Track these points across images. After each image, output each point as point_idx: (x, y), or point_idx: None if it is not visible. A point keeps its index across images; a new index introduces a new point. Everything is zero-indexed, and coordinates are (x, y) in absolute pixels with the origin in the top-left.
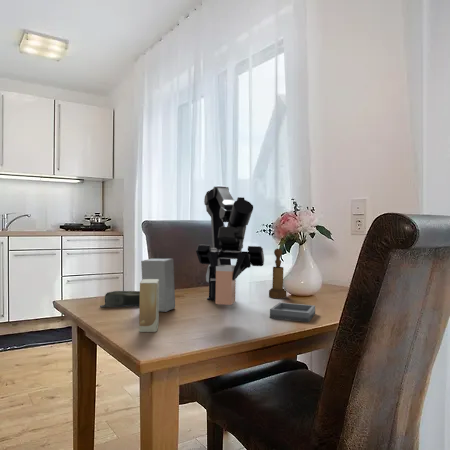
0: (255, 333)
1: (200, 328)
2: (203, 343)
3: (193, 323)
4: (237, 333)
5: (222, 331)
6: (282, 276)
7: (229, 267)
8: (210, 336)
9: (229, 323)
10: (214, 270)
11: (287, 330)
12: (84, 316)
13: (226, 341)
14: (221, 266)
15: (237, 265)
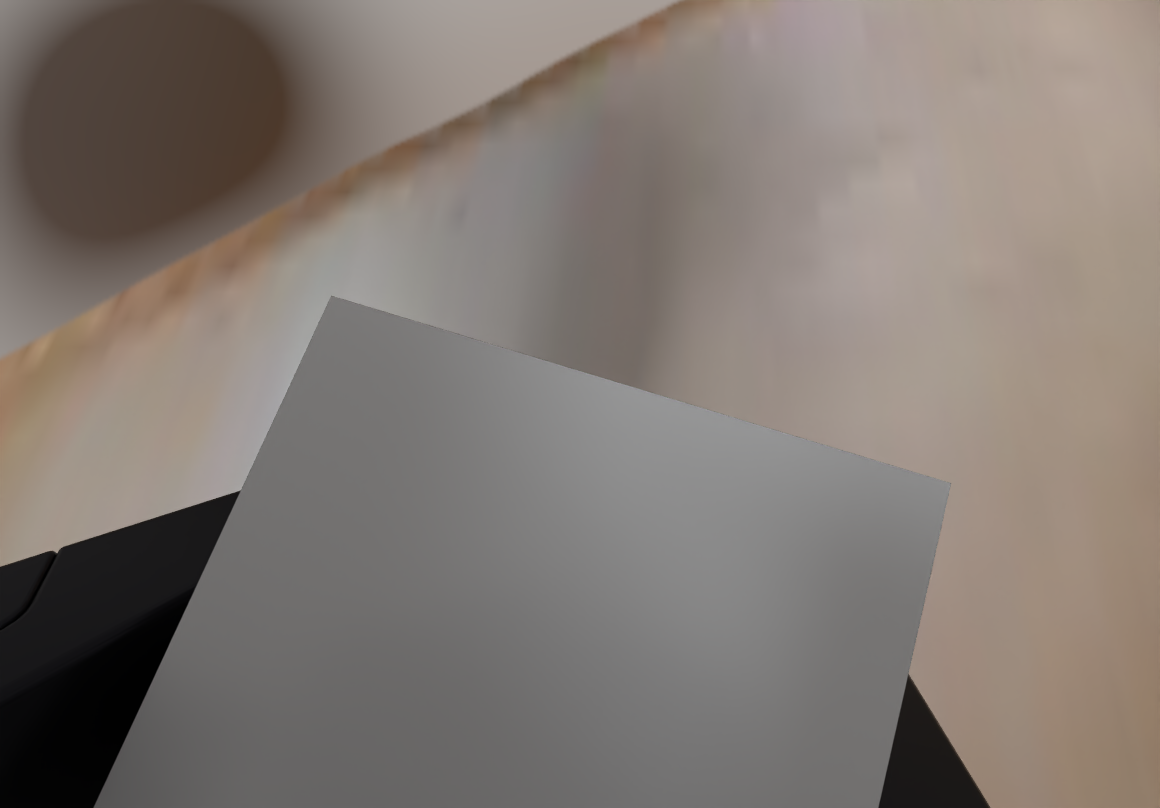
0: (390, 285)
1: (869, 441)
2: (811, 50)
3: (966, 643)
4: (537, 284)
5: (660, 342)
6: None
7: (423, 334)
8: (764, 204)
9: None
10: (957, 768)
11: (103, 369)
12: None
13: (643, 94)
14: (715, 423)
15: (33, 602)
